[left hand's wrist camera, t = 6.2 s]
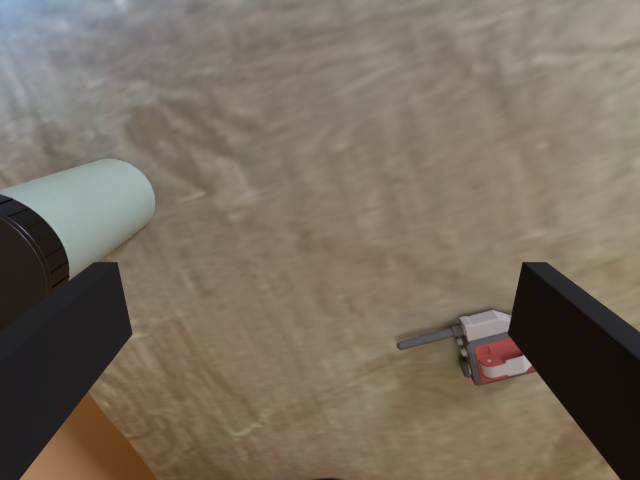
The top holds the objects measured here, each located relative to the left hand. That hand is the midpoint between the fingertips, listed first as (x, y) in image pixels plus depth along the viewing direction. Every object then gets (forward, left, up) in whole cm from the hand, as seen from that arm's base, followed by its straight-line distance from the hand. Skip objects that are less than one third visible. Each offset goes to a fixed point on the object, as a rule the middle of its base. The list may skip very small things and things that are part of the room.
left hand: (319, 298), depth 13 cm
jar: (+4, -21, -28) cm, 35 cm away
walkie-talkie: (+22, +20, -28) cm, 41 cm away
